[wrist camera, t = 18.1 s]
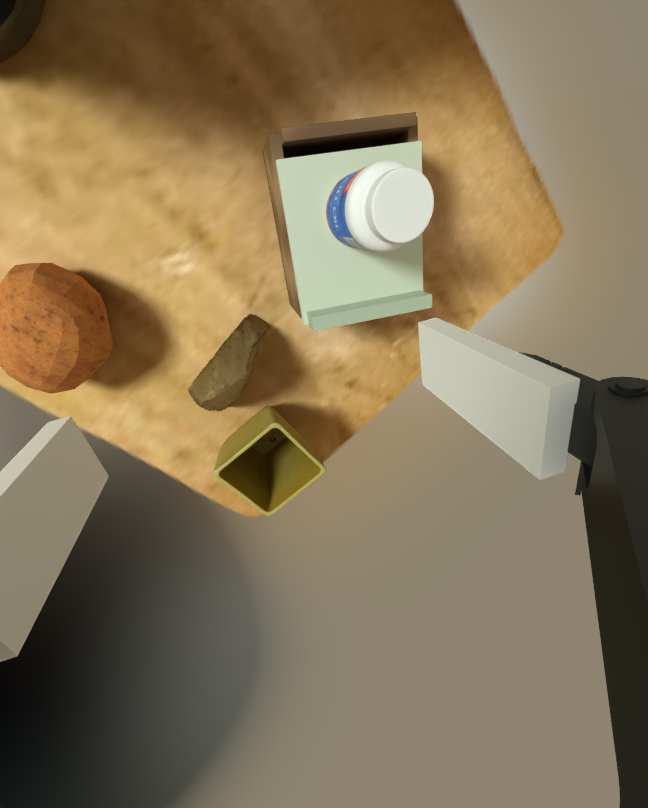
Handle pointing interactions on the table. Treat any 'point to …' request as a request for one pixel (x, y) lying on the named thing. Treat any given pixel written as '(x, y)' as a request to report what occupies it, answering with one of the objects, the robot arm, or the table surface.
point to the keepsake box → (319, 142)
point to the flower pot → (267, 462)
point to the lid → (340, 264)
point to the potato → (51, 327)
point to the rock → (229, 367)
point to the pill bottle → (380, 206)
